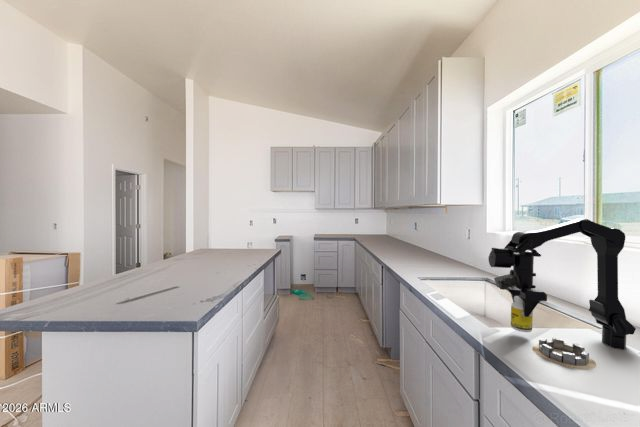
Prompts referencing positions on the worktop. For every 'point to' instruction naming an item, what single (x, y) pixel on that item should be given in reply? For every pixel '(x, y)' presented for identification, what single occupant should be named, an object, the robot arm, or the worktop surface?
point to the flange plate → (588, 366)
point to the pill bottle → (520, 317)
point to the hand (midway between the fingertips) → (521, 313)
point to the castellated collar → (566, 357)
